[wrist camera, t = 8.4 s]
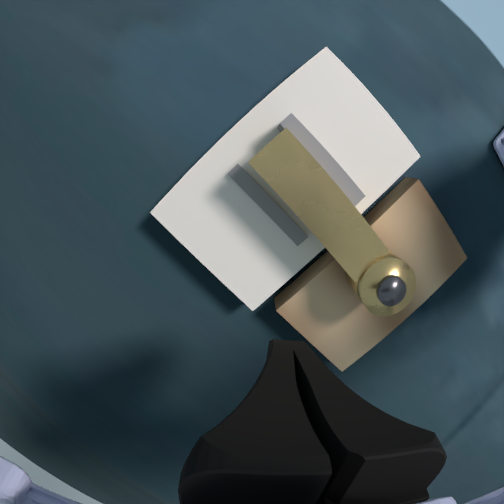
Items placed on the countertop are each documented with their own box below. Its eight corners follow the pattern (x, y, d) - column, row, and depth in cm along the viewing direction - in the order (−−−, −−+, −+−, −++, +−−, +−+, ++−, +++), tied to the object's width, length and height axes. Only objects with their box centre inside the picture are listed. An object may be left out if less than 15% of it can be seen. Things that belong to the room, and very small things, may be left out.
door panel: (319, 56, 17) (334, 34, 13) (406, 156, 19) (437, 157, 15) (159, 207, 20) (138, 218, 16) (252, 297, 22) (252, 327, 18)
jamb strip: (405, 176, 19) (418, 179, 17) (453, 250, 21) (467, 258, 19) (274, 298, 22) (275, 310, 20) (336, 356, 23) (341, 371, 21)
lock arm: (402, 269, 19) (428, 291, 15) (364, 303, 19) (384, 330, 16) (286, 127, 16) (294, 119, 13) (242, 166, 17) (240, 168, 14)
